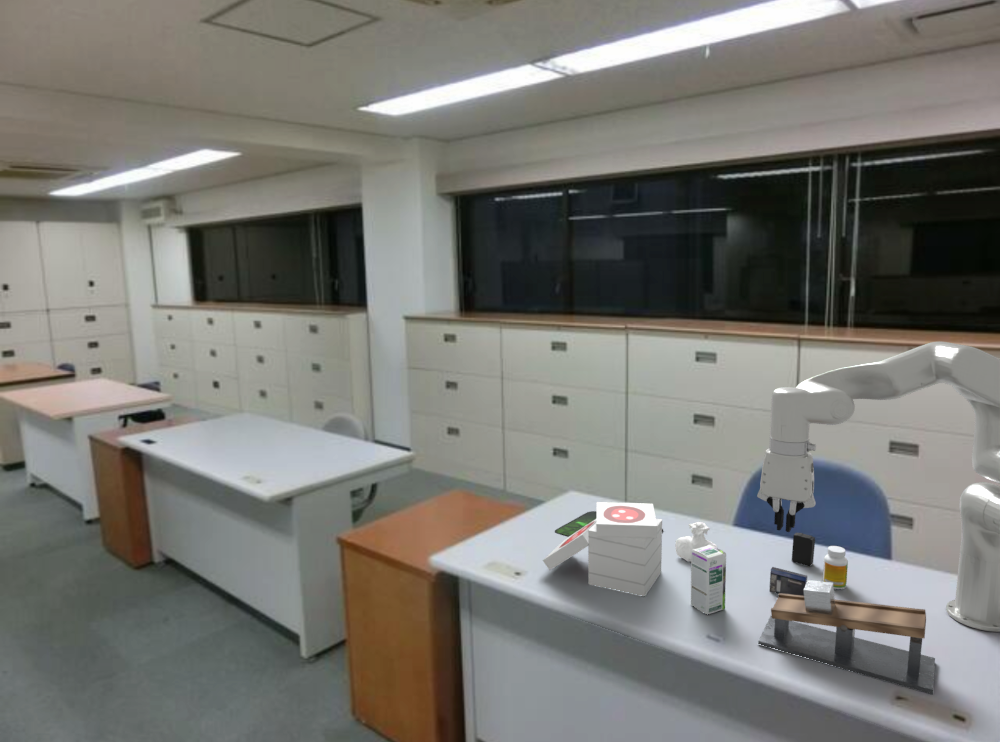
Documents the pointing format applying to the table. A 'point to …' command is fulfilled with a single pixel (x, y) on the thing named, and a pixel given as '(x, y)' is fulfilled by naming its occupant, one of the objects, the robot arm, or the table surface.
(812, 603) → the steel cube
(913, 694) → the table surface
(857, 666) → the pivot stand
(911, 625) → the beam
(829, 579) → the supplement bottle
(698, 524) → the white lumpy figure
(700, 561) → the syrup box
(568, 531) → the mouse mat
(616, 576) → the pizza boxes
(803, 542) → the ink cartridge
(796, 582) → the mini dv tape
